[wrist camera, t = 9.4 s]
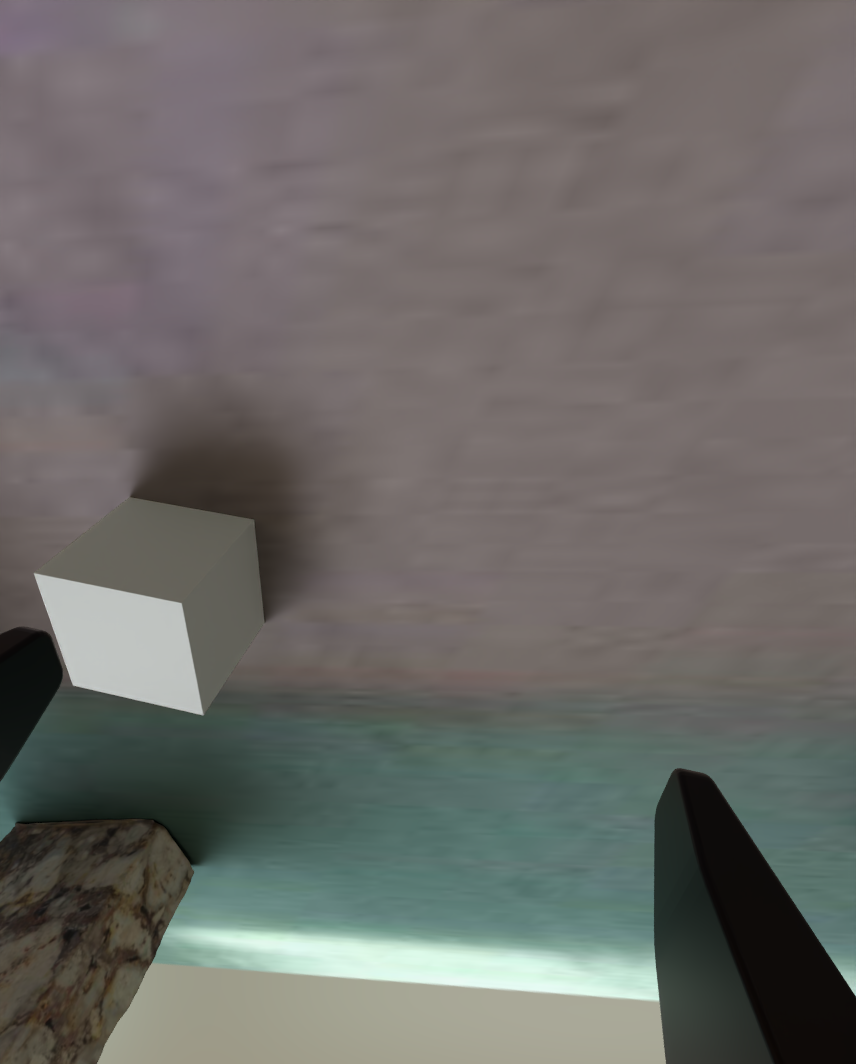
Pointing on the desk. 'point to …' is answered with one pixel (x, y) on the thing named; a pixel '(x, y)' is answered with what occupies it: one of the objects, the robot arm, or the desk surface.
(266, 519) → the desk surface
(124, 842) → the stone block
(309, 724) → the desk surface
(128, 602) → the light grey cube
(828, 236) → the desk surface
